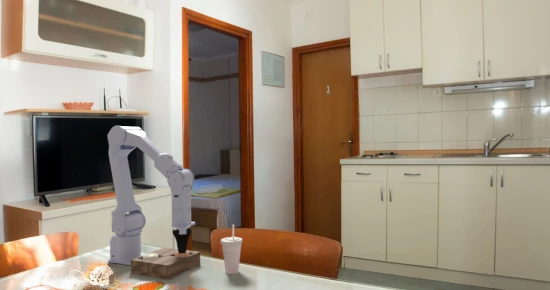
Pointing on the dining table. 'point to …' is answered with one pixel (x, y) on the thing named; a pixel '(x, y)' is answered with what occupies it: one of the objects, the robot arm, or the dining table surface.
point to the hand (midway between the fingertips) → (182, 253)
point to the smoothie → (231, 252)
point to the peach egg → (182, 254)
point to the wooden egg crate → (165, 264)
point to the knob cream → (150, 256)
